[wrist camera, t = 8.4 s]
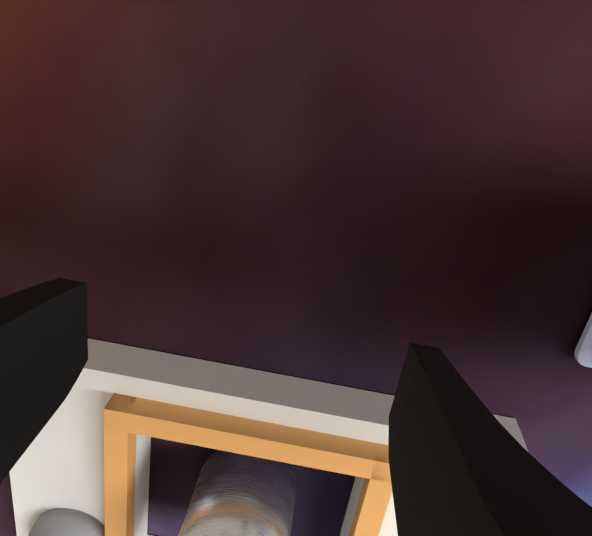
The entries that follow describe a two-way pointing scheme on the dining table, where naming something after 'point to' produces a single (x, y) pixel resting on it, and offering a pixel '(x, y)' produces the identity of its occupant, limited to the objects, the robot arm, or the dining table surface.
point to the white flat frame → (195, 439)
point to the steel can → (241, 497)
